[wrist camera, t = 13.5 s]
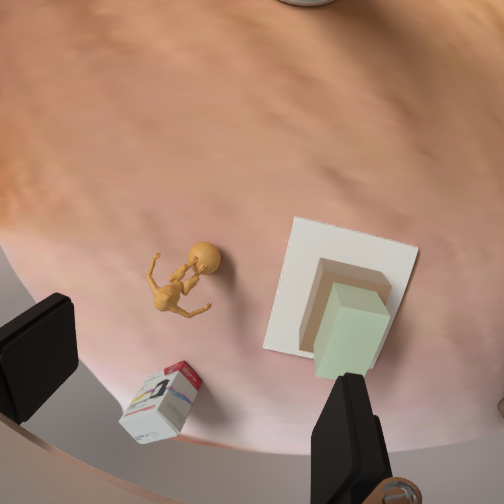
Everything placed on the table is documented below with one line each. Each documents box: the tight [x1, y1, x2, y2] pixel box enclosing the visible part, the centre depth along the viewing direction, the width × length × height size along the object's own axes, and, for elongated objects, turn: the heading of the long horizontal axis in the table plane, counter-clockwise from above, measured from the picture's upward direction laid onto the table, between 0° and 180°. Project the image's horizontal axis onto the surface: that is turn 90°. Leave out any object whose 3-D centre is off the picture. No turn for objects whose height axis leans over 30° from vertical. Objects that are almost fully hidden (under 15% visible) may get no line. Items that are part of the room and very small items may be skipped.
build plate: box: [263, 216, 419, 369], centre depth 37 cm, size 18×16×6 cm
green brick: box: [313, 282, 391, 380], centre depth 32 cm, size 8×5×6 cm, turn 169°
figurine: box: [146, 242, 221, 318], centre depth 36 cm, size 8×6×12 cm
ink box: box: [119, 361, 202, 444], centre depth 42 cm, size 9×5×12 cm, turn 123°
